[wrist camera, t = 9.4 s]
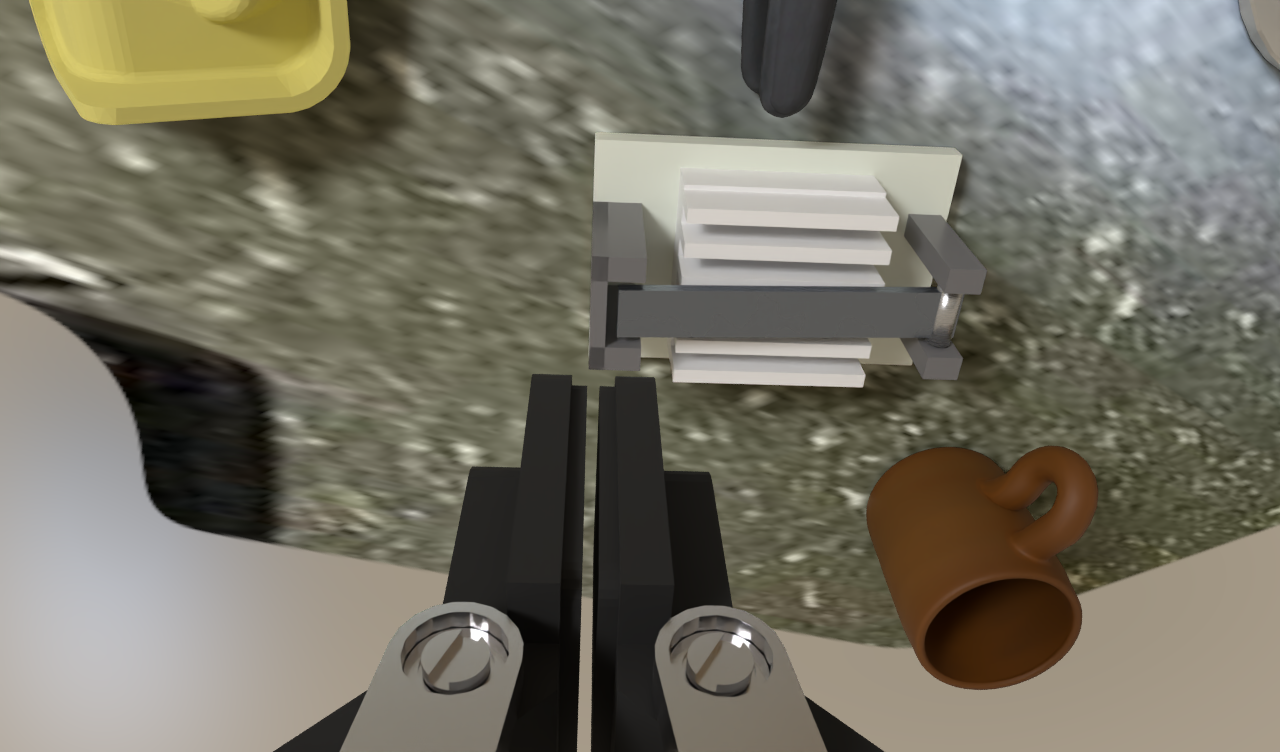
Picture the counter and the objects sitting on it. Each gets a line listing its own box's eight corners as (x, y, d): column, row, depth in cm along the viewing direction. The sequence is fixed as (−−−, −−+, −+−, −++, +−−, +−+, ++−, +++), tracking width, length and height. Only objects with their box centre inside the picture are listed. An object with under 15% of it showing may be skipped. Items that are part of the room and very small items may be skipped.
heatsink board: (954, 147, 39) (1013, 204, 33) (905, 354, 44) (949, 433, 38) (595, 132, 38) (594, 187, 32) (589, 344, 43) (587, 424, 37)
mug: (950, 351, 44) (1027, 472, 36) (1084, 394, 45) (1187, 519, 37) (837, 534, 50) (882, 673, 42) (959, 567, 51) (1026, 707, 43)
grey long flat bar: (959, 277, 36) (969, 288, 36) (944, 335, 38) (953, 347, 37) (617, 274, 35) (619, 286, 34) (615, 334, 36) (616, 347, 35)
